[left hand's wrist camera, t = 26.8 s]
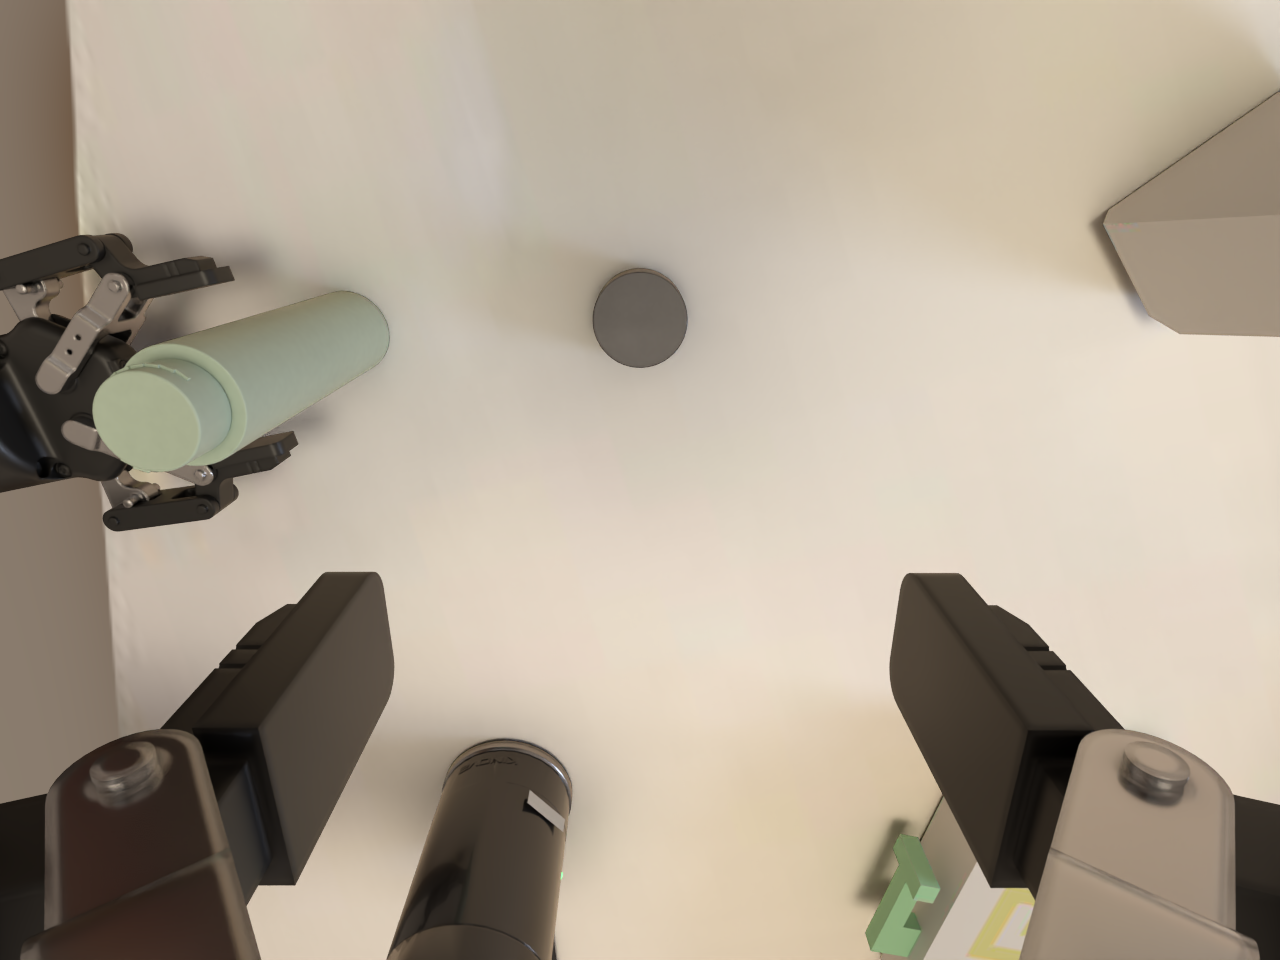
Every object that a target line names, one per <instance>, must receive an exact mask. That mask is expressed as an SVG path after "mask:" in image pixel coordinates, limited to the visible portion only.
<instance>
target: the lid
mask: <svg viewBox="0 0 1280 960" xmlns="http://www.w3.org/2000/svg"><path fill="white" fill-rule="evenodd" d="M593 328H594V332H595V336H596V338H597V341H598V342H599V344H600V346H601V347H602V349H603V350H604V351H605V352H606V353H607V354H608V355H609V356H610V357H611V358H612V359H614V360H615V361H617V362H619V363H621V364H623V365H626V366H630V367H636V368H644V367H650V366H654V365H657V364H660V363H661V362H663V361H665V360H666V359H668V358H669V357H670V356H672V355H673V354H674V353H675V352H676V350H677V349H678V348H679V346H680V345H681V343H682V341H683V339H684V336H685V333H686V329H687V311H686V306H685V303H684V301H683V298H682V296H681V294H680V292H679V290H678V289H677V287H676V286H675V285H674V284H673V282H672V281H671V280H669V279H668V278H667V277H666V276H664V275H663V274H661V273H659V272H657V271H654V270H650V269H644V268H637V269H630V270H626V271H624V272H621V273H619V274H618V275H616V276H615V277H613V278H612V279H611V280H610V281H609V282H608V283H607V284H606V285H605V286H604V287H603V289H602V291H601V292H600V294H599V297H598V299H597V301H596V304H595V307H594V312H593Z"/></svg>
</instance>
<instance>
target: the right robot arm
mask: <svg viewBox="0 0 1280 960" xmlns="http://www.w3.org/2000/svg"><path fill="white" fill-rule="evenodd" d="M132 252H133V247H132V244H131V242H130V240H129V239H128V238H127V237H126V236H124V235H122V234H119V233H111V234H106V235H96V236H92V235H79V236H75V237H72V238H69V239H65V240H62V241H59V242H56V243H52V244H49V245H46V246H43V247H39V248H36V249H33V250H30V251H26V252H23V253H20V254H17V255H13V256H10V257H7V258H3V259H0V290H2V291H3V292H4V294H5V296H6V298H7V299H8V301H9V303H10V305H11V306H12V308H13V310H14V312H15V313H16V315H17V317H18V319H19V320H20V322H19V323H18V324H17V325H16V326H15V327H14V329H13V330H12V331H10V332H9V333H7V334H4V335H0V493H1V492H6V491H10V490H15V489H20V488H25V487H30V486H35V485H40V484H45V483H50V482H54V481H60V480H64V479H69V478H75V477H83V478H89V479H92V480H96V481H101V483H102V485H103V487H104V490H105V492H106V494H107V496H108V499H109V501H110V503H111V506H112V509H110V510H108V511H107V512H105V513H104V515H103V522H104V524H105V525H106V527H108V528H109V529H111V530H113V531H125V530H133V529H140V528H147V527H155V526H162V525H170V524H177V523H184V522H192V521H199V520H206V519H210V518H212V517H213V516H214V515H216V514H217V513H218V512H220V511H221V510H222V509H224V508H225V507H227V506H228V505H229V504H231V503H232V502H233V501H235V500H236V499H237V498H238V495H239V492H238V489H237V487H236V486H235V485H234V484H233V477H238V476H243V475H247V474H252V473H257V472H262V471H267V470H271V469H273V468H274V467H276V466H277V465H278V464H280V463H281V462H283V461H284V460H285V459H287V458H288V457H289V456H291V454H290V452H289V451H290V450H291V449H293V448H294V447H295V446H297V445H298V442H297V439H296V437H295V434H294V432H293V431H290V432H285V433H280V434H275V435H270V436H265V437H260V438H258V439H256V440H255V441H253V442H251V443H250V444H248V445H247V446H245V447H243V448H242V449H240V450H239V451H237V452H235V453H234V454H232V455H230V456H229V457H227V458H225V459H224V460H222V461H220V462H217V463H214V464H210V465H203V466H190V465H184V466H183V467H181V468H178V469H176V470H172V471H167V473H170V474H172V475H175V476H177V477H180V478H182V479H185V480H187V481H190V482H192V483H195V485H194V486H187V487H180V488H172V489H165V490H160V486H159V485H158V484H156V483H153V484H151V483H149V482H140V481H137V480H135V479H133V478H132V477H131V476H130V474H129V471H130V470H131V469H133V466H131V465H129V464H127V463H125V462H123V461H121V459H120V458H119V457H118V456H116V455H115V454H114V453H113V452H112V451H111V450H110V449H109V448H108V447H107V446H106V444H105V443H104V442H103V440H102V439H101V437H100V435H99V433H98V431H97V429H96V426H95V424H94V419H93V411H92V410H93V401H94V397H95V394H96V392H97V390H98V389H99V387H100V386H101V385H102V383H103V382H104V381H105V380H107V379H108V378H109V377H110V376H111V375H112V374H113V373H114V372H116V371H118V370H120V369H122V368H124V367H125V365H126V363H127V362H128V361H129V360H130V359H131V357H133V356H134V355H135V354H136V353H137V352H136V351H135V350H134V349H133V348H132V347H131V346H130V344H131V343H132V341H133V339H134V338H135V336H136V335H137V333H138V331H139V330H140V328H141V327H142V325H143V323H144V322H145V319H146V317H145V316H144V313H145V311H146V310H147V308H148V307H149V305H150V303H151V302H152V300H153V299H154V298H156V297H161V296H166V295H171V294H176V293H180V292H185V291H189V290H194V289H198V288H203V287H207V286H212V285H216V284H221V283H225V282H230V281H234V277H233V275H232V272H231V269H230V267H229V266H226V267H220V268H217V267H216V265H215V262H214V260H213V258H210V257H204V256H197V257H189V258H183V259H178V260H174V261H169V262H165V263H160V264H156V265H151V266H147V265H145V264H143V263H141V262H140V261H139V260H138V259H137V258H136V257H135V255H134V254H133V253H132ZM91 269H94V270H95V271H96V272H97V273H98V274H99V275H100V277H101V278H102V280H101V282H100V284H99V285H98V287H97V289H96V290H95V292H94V294H93V296H92V297H91V299H90V301H89V302H88V304H87V305H86V306H85V307H83V308H81V309H80V310H79V311H77V312H76V313H75V315H74V316H73V318H72V320H71V319H68V318H66V317H63V316H60V315H56V314H51V313H50V310H49V303H50V301H51V300H52V299H53V298H55V297H57V296H58V295H59V293H60V289H62V288H63V282H62V281H61V280H60V279H61V278H64V277H67V276H71V275H74V274H77V273H81V272H84V271H87V270H91ZM151 472H153V471H151ZM571 802H572V786H571V782H570V779H569V776H568V775H567V773H566V771H565V769H564V768H563V767H562V765H561V764H560V763H559V762H558V761H557V760H556V759H555V758H554V757H552V756H551V755H550V754H548V753H547V752H545V751H543V750H542V749H540V748H537V747H535V746H532V745H530V744H526V743H522V742H517V741H492V742H487V743H483V744H480V745H477V746H475V747H473V748H471V749H469V750H467V751H466V752H464V753H463V754H461V755H460V756H459V757H458V758H457V759H456V760H455V761H454V762H453V764H452V765H451V767H450V768H449V771H448V773H447V776H446V779H445V782H444V785H443V789H442V795H441V798H440V801H439V804H438V807H437V810H436V813H435V815H434V818H433V821H432V824H431V827H430V830H429V833H428V836H427V839H426V842H425V845H424V848H423V851H422V854H421V857H420V860H419V863H418V866H417V869H416V872H415V875H414V878H413V881H412V884H411V887H410V890H409V893H408V896H407V899H406V902H405V905H404V908H403V911H402V914H401V917H400V920H399V923H398V926H397V929H396V932H395V935H394V938H393V941H392V944H391V947H390V950H389V953H388V956H387V960H556V955H555V946H554V934H555V925H556V917H557V908H558V900H559V891H560V883H561V878H562V866H563V857H564V849H565V841H566V834H567V825H568V816H569V813H570V810H571Z"/></svg>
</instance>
